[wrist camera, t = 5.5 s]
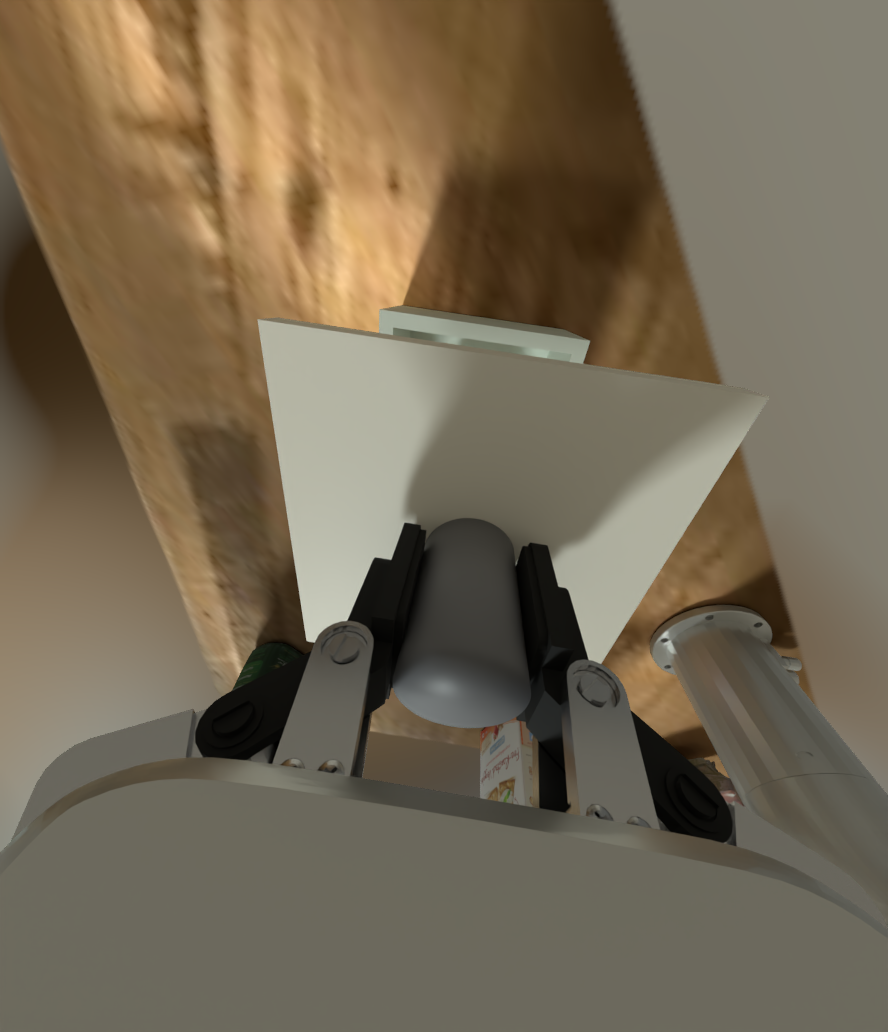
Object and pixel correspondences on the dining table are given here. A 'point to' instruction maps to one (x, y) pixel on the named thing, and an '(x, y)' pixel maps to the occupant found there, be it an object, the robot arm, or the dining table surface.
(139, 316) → the dining table surface
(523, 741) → the cracker box
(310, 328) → the lid
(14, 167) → the dining table surface
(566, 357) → the box
